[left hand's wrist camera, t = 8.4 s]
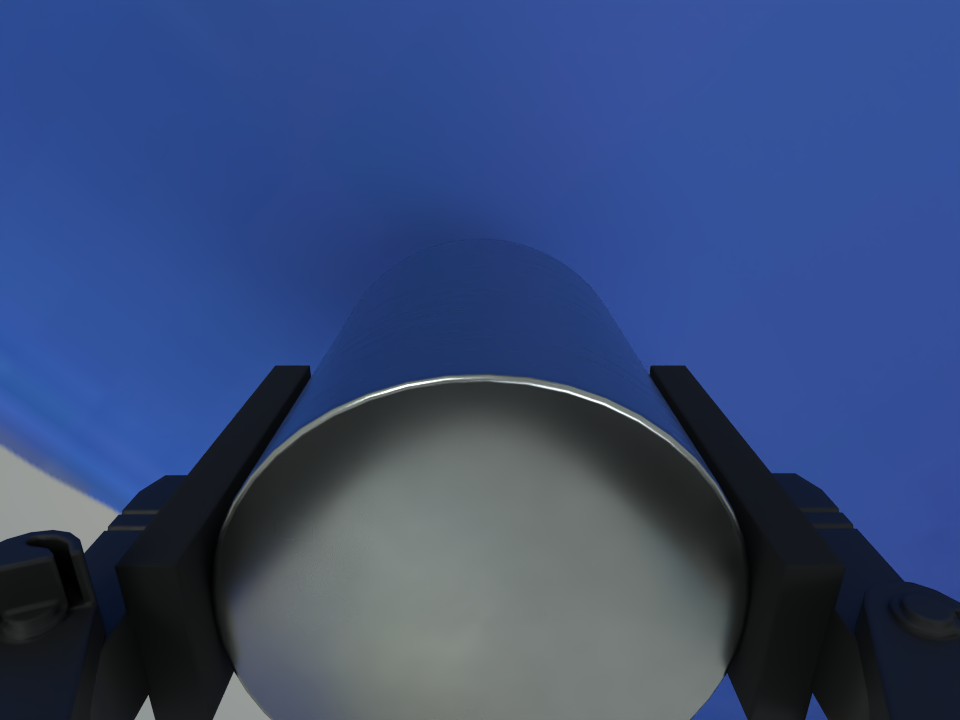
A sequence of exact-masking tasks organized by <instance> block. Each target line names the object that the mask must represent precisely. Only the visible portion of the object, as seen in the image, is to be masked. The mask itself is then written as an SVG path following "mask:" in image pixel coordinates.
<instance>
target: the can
mask: <svg viewBox="0 0 960 720" xmlns="http://www.w3.org/2000/svg"><path fill="white" fill-rule="evenodd" d="M212 598H213V609H214V617H215V621H216V625H217V629H218V633H219V637H220V641H221V644H222V646H223V648H224V651H225V653H226V655H227V658H228V660H229V662H230V664H231V667H232V669H233V670H234V672H235V674H236V675H237V677H238V678H239V680H240V682H241V683H242V685H243V686H244V688H245V690H246V691H247V693H248V694H249V695H250V696H251V697H252V699H253V700H254V701H255V702H256V703H257V705H258V706H259V707H260V708H261V709H262V711H263V712H264V713H265V714H266V715H267V716H268V717H269V718H270V719H271V720H691V719H692V718H693V717H694V716H695V714H696V713H697V712H698V711H699V710H700V709H701V708H702V707H703V705H704V704H705V703H706V702H707V701H708V700H709V699H710V697H711V696H712V695H713V693H714V692H715V690H716V689H717V687H718V686H719V684H720V683H721V681H722V680H723V678H724V677H725V676H726V674H727V671H728V669H729V667H730V665H731V663H732V661H733V659H734V657H735V655H736V653H737V651H738V648H739V645H740V642H741V639H742V635H743V632H744V629H745V626H746V620H747V613H748V607H749V600H750V575H749V562H748V556H747V551H746V546H745V541H744V536H743V534H742V531H741V529H740V526H739V523H738V521H737V518H736V515H735V513H734V510H733V508H732V506H731V505H730V503H729V501H728V499H727V498H726V496H725V494H724V492H723V491H722V489H721V487H720V486H719V484H718V482H717V481H716V479H715V477H714V476H713V474H712V473H711V471H710V470H709V468H708V466H707V465H706V463H705V462H704V460H703V459H702V457H701V456H700V454H699V452H698V451H697V449H696V448H695V446H694V445H693V443H692V441H691V440H690V438H689V437H688V435H687V434H686V432H685V430H684V429H683V427H682V426H681V424H680V423H679V421H678V420H677V418H676V416H675V415H674V413H673V412H672V410H671V409H670V407H669V405H668V404H667V402H666V401H665V399H664V398H663V396H662V395H661V393H660V391H659V390H658V388H657V387H656V385H655V384H654V382H653V380H652V379H651V377H650V376H649V374H648V373H647V371H646V369H645V368H644V366H643V365H642V363H641V362H640V360H639V359H638V357H637V355H636V354H635V352H634V351H633V349H632V348H631V346H630V344H629V343H628V341H627V340H626V338H625V337H624V335H623V333H622V332H621V330H620V329H619V327H618V326H617V324H616V323H615V321H614V319H613V318H612V316H611V315H610V313H609V312H608V310H607V308H606V307H605V305H604V304H603V302H602V301H601V299H600V298H599V297H598V295H597V294H596V293H595V292H594V290H593V289H592V288H591V287H590V285H588V284H587V283H586V282H585V281H584V280H583V279H582V278H581V277H580V276H579V275H578V274H577V273H576V272H574V271H573V270H572V269H570V268H569V267H567V266H566V265H565V264H563V263H562V262H560V261H559V260H557V259H555V258H553V257H551V256H549V255H547V254H545V253H543V252H541V251H538V250H536V249H533V248H530V247H527V246H525V245H521V244H516V243H512V242H507V241H501V240H489V239H474V240H460V241H455V242H449V243H444V244H440V245H437V246H434V247H431V248H428V249H425V250H423V251H420V252H418V253H416V254H414V255H412V256H410V257H408V258H406V259H404V260H403V261H401V262H400V263H398V264H397V265H395V266H394V267H392V268H390V269H389V270H388V271H387V272H386V273H385V274H383V275H382V276H381V277H380V278H379V279H378V280H377V281H375V283H374V284H373V285H372V286H371V287H370V288H369V289H368V291H367V292H366V293H365V294H364V295H363V297H362V298H361V300H360V301H359V303H358V304H357V306H356V307H355V309H354V311H353V312H352V314H351V315H350V317H349V318H348V320H347V322H346V323H345V325H344V326H343V328H342V329H341V331H340V333H339V334H338V336H337V337H336V339H335V341H334V342H333V344H332V345H331V347H330V348H329V350H328V352H327V353H326V355H325V356H324V358H323V359H322V361H321V363H320V364H319V366H318V367H317V369H316V370H315V372H314V374H313V375H312V377H311V378H310V380H309V381H308V383H307V385H306V386H305V388H304V389H303V391H302V393H301V394H300V396H299V397H298V399H297V400H296V402H295V404H294V405H293V407H292V408H291V410H290V411H289V413H288V415H287V416H286V418H285V419H284V421H283V422H282V424H281V426H280V427H279V429H278V430H277V432H276V434H275V435H274V437H273V438H272V440H271V441H270V443H269V445H268V446H267V448H266V449H265V451H264V452H263V454H262V456H261V457H260V459H259V460H258V462H257V463H256V465H255V467H254V468H253V470H252V471H251V473H250V475H249V476H248V478H247V479H246V481H245V482H244V484H243V486H242V487H241V489H240V490H239V492H238V493H237V495H236V497H235V498H234V500H233V502H232V504H231V506H230V509H229V511H228V513H227V515H226V518H225V520H224V522H223V524H222V527H221V530H220V534H219V538H218V542H217V546H216V550H215V553H214V560H213V572H212Z"/></svg>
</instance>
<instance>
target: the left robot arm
mask: <svg viewBox="0 0 960 720" xmlns="http://www.w3.org/2000/svg"><path fill="white" fill-rule="evenodd" d="M650 377H651V379H652V380H653V382H654V384H655V385H656V387H657V388H658V390H659V391H660V393H661V395H662V396H663V398H664V399H665V401H666V402H667V404H668V405H669V407H670V409H671V410H672V412H673V413H674V415H675V416H676V418H677V420H678V421H679V423H680V424H681V426H682V427H683V429H684V430H685V432H686V434H687V435H688V437H689V438H690V440H691V441H692V443H693V445H694V446H695V448H696V449H697V451H698V452H699V454H700V456H701V457H702V459H703V460H704V462H705V463H706V465H707V466H708V468H709V470H710V471H711V473H712V474H713V476H714V477H715V479H716V481H717V482H718V484H719V486H720V487H721V489H722V491H723V492H724V494H725V496H726V498H727V499H728V501H729V503H730V505H731V506H732V508H733V510H734V513H735V515H736V518H737V521H738V523H739V526H740V529H741V531H742V534H743V536H744V541H745V546H746V551H747V556H748V562H749V575H750V600H749V607H748V613H747V620H746V626H745V629H744V632H743V635H742V639H741V642H740V645H739V648H738V651H737V653H736V655H735V657H734V659H733V661H732V663H731V665H730V667H729V669H728V671H727V673H728V676H729V678H730V680H731V683H732V685H733V687H734V689H735V692H736V694H737V696H738V698H739V701H740V703H741V705H742V708H743V710H744V712H745V714H746V717H747V719H748V720H805V718H806V715H807V711H808V707H809V703H810V700H811V696H812V692H813V694H814V696H815V698H816V699H817V701H818V703H819V705H820V706H821V708H822V710H823V712H824V713H825V715H826V717H827V719H828V720H960V603H959V602H957V601H956V600H954V599H952V598H950V597H948V596H946V595H944V594H942V593H940V592H938V591H936V590H934V589H931V588H928V587H924V586H921V585H918V584H915V583H911V582H904V581H903V580H902V578H901V577H900V576H899V575H898V574H897V573H896V572H895V571H894V570H893V568H892V567H891V566H890V565H889V564H888V563H887V562H886V561H885V560H884V558H883V557H882V556H881V555H880V554H879V553H878V552H877V551H876V550H875V548H874V547H873V546H872V545H871V544H870V543H869V542H868V541H867V540H866V538H865V537H864V536H863V535H862V534H861V533H860V532H859V531H858V530H857V529H854V528H853V524H852V523H851V522H850V521H849V520H848V518H847V517H846V516H845V515H844V514H843V513H839V508H838V507H837V506H836V505H835V504H834V503H833V502H832V501H831V500H830V498H829V497H828V496H827V495H826V494H825V493H824V492H823V491H822V490H821V489H820V488H818V487H816V486H815V485H813V484H812V483H810V482H808V481H807V480H805V479H803V478H802V477H800V476H799V475H797V474H795V473H771V472H770V471H769V470H768V469H767V467H766V466H765V465H764V464H763V462H762V461H761V460H760V459H759V457H758V456H757V455H756V454H755V452H754V451H753V450H752V449H751V447H750V446H749V445H748V444H747V442H746V441H745V440H744V439H743V437H742V436H741V435H740V434H739V432H738V431H737V430H736V429H735V427H734V426H733V425H732V424H731V422H730V421H729V420H728V419H727V417H726V416H725V415H724V414H723V412H722V411H721V410H720V409H719V407H718V406H717V405H716V404H715V402H714V401H713V400H712V399H711V398H710V396H709V395H708V394H707V393H706V391H705V390H704V389H703V388H702V386H701V385H700V384H699V383H698V381H697V380H696V379H695V378H694V376H693V375H692V374H691V373H690V371H689V370H688V369H687V368H686V366H651V367H650ZM310 378H311V373H310V366H275V367H274V368H273V369H272V371H271V372H270V373H269V374H268V376H267V377H266V378H265V379H264V381H263V382H262V383H261V384H260V386H259V387H258V388H257V389H256V391H255V392H254V393H253V394H252V396H251V397H250V398H249V399H248V401H247V402H246V403H245V404H244V406H243V407H242V408H241V409H240V411H239V412H238V413H237V414H236V415H235V417H234V418H233V419H232V420H231V422H230V423H229V424H228V425H227V427H226V428H225V429H224V430H223V432H222V433H221V434H220V435H219V437H218V438H217V439H216V440H215V442H214V443H213V444H212V445H211V447H210V448H209V449H208V450H207V452H206V453H205V454H204V455H203V457H202V458H201V459H200V460H199V462H198V463H197V464H196V465H195V467H194V468H193V469H192V470H191V472H190V473H189V474H188V475H165V476H164V477H162V478H161V479H159V480H157V481H156V482H154V483H153V484H151V485H149V486H148V487H146V488H145V489H143V490H141V491H140V492H139V493H138V494H137V495H136V496H135V497H134V498H133V499H132V501H131V502H130V503H129V504H128V505H127V506H126V507H125V508H124V509H123V511H122V515H118V516H117V517H116V518H115V520H114V521H113V522H112V523H111V524H110V525H109V526H108V531H104V532H103V533H102V534H101V535H100V536H99V537H98V539H97V540H96V541H95V542H94V543H93V544H92V545H91V546H90V548H89V549H88V550H87V551H86V552H85V553H84V552H83V548H82V545H81V542H80V539H78V538H77V537H75V536H74V535H73V534H71V533H70V532H63V531H56V530H48V531H39V532H31V533H27V534H24V535H20V536H17V537H13V538H10V539H6V540H4V541H2V542H0V720H134V719H135V717H136V716H137V714H138V712H139V710H140V709H141V707H142V705H143V703H144V702H145V700H146V698H147V696H148V695H149V698H150V701H151V705H152V709H153V713H154V717H155V720H213V718H214V715H215V713H216V711H217V709H218V706H219V704H220V702H221V699H222V697H223V695H224V693H225V690H226V688H227V686H228V683H229V681H230V679H231V677H232V674H233V672H234V670H233V669H232V667H231V664H230V662H229V660H228V658H227V655H226V653H225V651H224V648H223V646H222V644H221V641H220V637H219V633H218V629H217V625H216V621H215V617H214V609H213V598H212V572H213V560H214V553H215V550H216V546H217V542H218V538H219V534H220V530H221V527H222V524H223V522H224V520H225V518H226V515H227V513H228V511H229V509H230V506H231V504H232V502H233V500H234V498H235V497H236V495H237V493H238V492H239V490H240V489H241V487H242V486H243V484H244V482H245V481H246V479H247V478H248V476H249V475H250V473H251V471H252V470H253V468H254V467H255V465H256V463H257V462H258V460H259V459H260V457H261V456H262V454H263V452H264V451H265V449H266V448H267V446H268V445H269V443H270V441H271V440H272V438H273V437H274V435H275V434H276V432H277V430H278V429H279V427H280V426H281V424H282V422H283V421H284V419H285V418H286V416H287V415H288V413H289V411H290V410H291V408H292V407H293V405H294V404H295V402H296V400H297V399H298V397H299V396H300V394H301V393H302V391H303V389H304V388H305V386H306V385H307V383H308V381H309V380H310Z"/></svg>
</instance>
